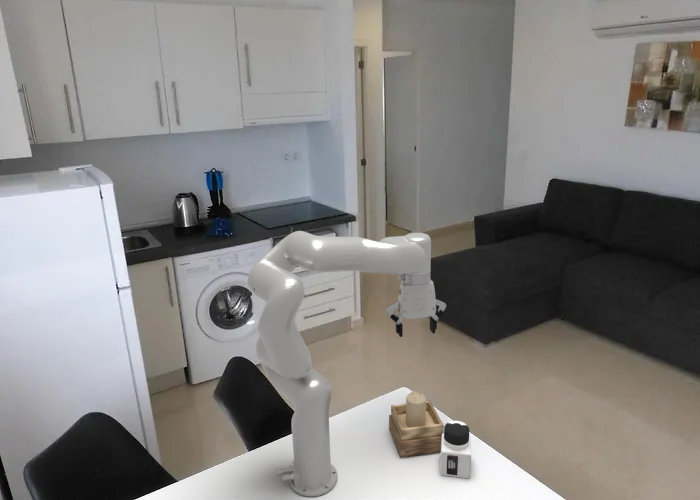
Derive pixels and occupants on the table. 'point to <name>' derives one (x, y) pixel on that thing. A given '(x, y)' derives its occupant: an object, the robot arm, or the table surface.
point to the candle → (415, 409)
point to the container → (456, 450)
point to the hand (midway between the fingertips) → (416, 333)
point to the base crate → (414, 444)
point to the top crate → (430, 429)
